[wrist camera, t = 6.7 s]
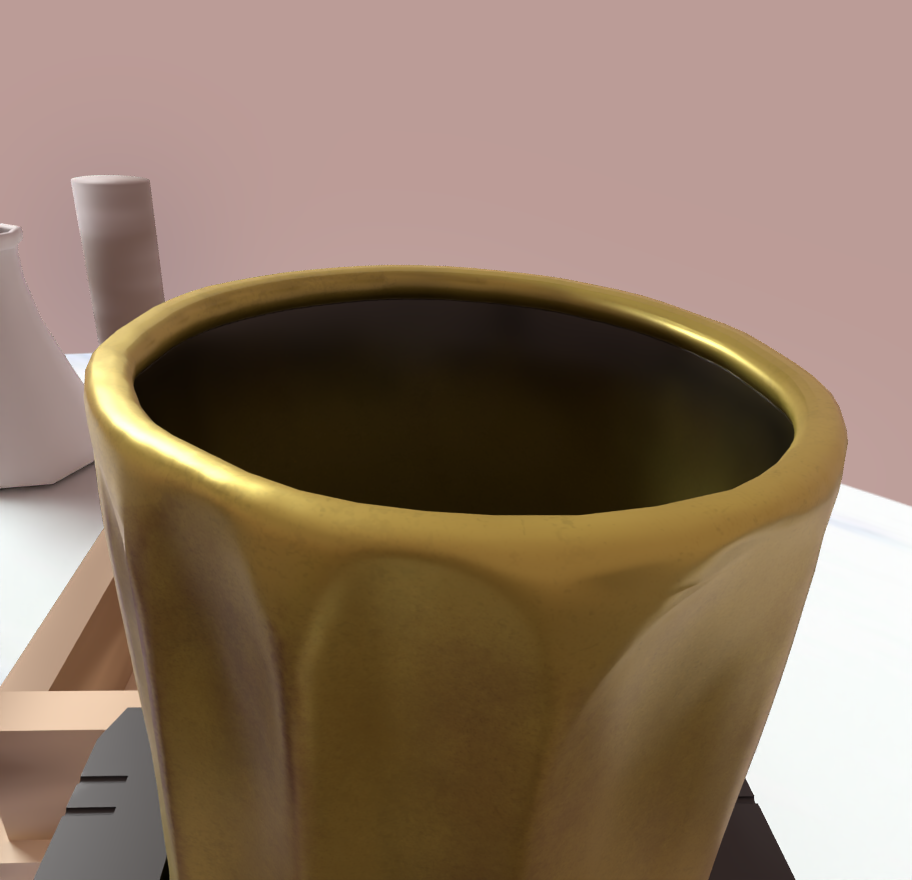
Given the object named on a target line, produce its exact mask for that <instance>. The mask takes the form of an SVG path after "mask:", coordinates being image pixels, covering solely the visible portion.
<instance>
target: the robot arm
mask: <svg viewBox="0 0 912 880" xmlns="http://www.w3.org/2000/svg"><path fill="white" fill-rule="evenodd" d="M33 880H170V875H169V866H168V859H167V853H166V846H165V840H164V833H163V827H162V820H161V812H160V804H159V796H158V789H157V783H156V777H155V771H154V765H153V759H152V753H151V748H150V743H149V739H148V734H147V729H146V725H145V720H144V716H143V711H142V707H128V708H127V709H126V710H125V711H124V712H123V713H122V714H121V715H120V716H119V717H118V718H117V719H116V720H115V721H114V722H113V723H112V724H111V725H110V726H109V727H108V728H107V729H106V731H105V732H104V733H103V734H102V735H101V736H100V737H99V738H98V739H97V741H96V743H95V745H94V747H93V750H92V752H91V754H90V756H89V758H88V761H87V763H86V765H85V767H84V769H83V772H82V774H81V776H80V783H79V784H77V785H76V787H75V789H74V791H73V793H72V796H71V798H70V800H69V802H68V804H67V807H66V813H65V816H62V818H61V820H60V822H59V824H58V826H57V829H56V831H55V833H54V835H53V837H52V840H51V842H50V844H49V846H48V848H47V850H46V853H45V855H44V857H43V859H42V861H41V864H40V866H39V868H38V870H37V872H36V875H35V877H34V879H33ZM708 880H795V878H794V876H793V874H792V872H791V870H790V868H789V866H788V864H787V862H786V860H785V858H784V856H783V853H782V851H781V849H780V847H779V845H778V843H777V841H776V839H775V837H774V835H773V833H772V831H771V829H770V827H769V825H768V823H767V821H766V819H765V817H764V815H763V813H762V811H761V809H760V807H759V805H758V804H755V801H754V795H753V793H752V791H751V789H750V787H749V785H748V783H747V781H746V779H745V780H744V782H743V785H742V787H741V790H740V793H739V795H738V798H737V800H736V803H735V806H734V808H733V811H732V814H731V816H730V819H729V822H728V825H727V827H726V830H725V833H724V836H723V838H722V841H721V844H720V847H719V850H718V853H717V856H716V858H715V861H714V864H713V867H712V870H711V873H710V876H709V879H708Z"/></svg>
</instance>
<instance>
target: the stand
mask: <svg viewBox="0 0 912 880" xmlns="http://www.w3.org/2000/svg"><path fill="white" fill-rule="evenodd" d="M71 184H72V190H73V195H74V202H75V207H76V213H77V219H78V225H79V230H80V237H81V243H82V248H83V254H84V260H85V266H86V271H87V277H88V283H89V289H90V294H91V301H92V307H93V313H94V318H95V324H96V330H97V336H98V342H99V346H100V345H101V344H102V343H103V342H104V341H106V340H107V339H108V338H109V337H110V336H111V335H112V334H114V333H115V332H116V331H117V330H119V329H120V328H122V327H123V326H125V325H126V324H128V323H129V322H131V321H133V320H134V319H136V318H137V317H139V316H140V315H142V314H144V313H145V312H147V311H148V310H150V309H152V308H153V307H155V306H157V305H159V304H162V303H164V302H165V300H164V293H163V284H162V276H161V268H160V260H159V252H158V244H157V236H156V228H155V220H154V212H153V204H152V195H151V187H150V181H149V179H145V178H141V177H133V176H117V175H96V176H83V177H76V178H73V179H71ZM128 707H141V703H140V698H139V694H138V689H137V685H136V680H135V676H134V671H133V666H132V662H131V657H130V652H129V647H128V643H127V638H126V633H125V629H124V624H123V619H122V614H121V610H120V605H119V600H118V595H117V591H116V586H115V581H114V576H113V571H112V566H111V561H110V556H109V551H108V546H107V542H106V537H105V531H104V529H103V530H102V532H101V533H100V535H99V536H98V538H97V539H96V541H95V542H94V544H93V546H92V547H91V549H90V550H89V552H88V553H87V555H86V556H85V558H84V559H83V561H82V562H81V564H80V565H79V567H78V569H77V570H76V572H75V573H74V575H73V576H72V578H71V579H70V581H69V582H68V584H67V585H66V587H65V588H64V590H63V592H62V593H61V595H60V596H59V598H58V599H57V601H56V602H55V604H54V605H53V607H52V608H51V610H50V611H49V613H48V614H47V616H46V618H45V619H44V621H43V622H42V624H41V625H40V627H39V628H38V630H37V631H36V633H35V634H34V636H33V637H32V639H31V641H30V642H29V644H28V645H27V647H26V648H25V650H24V651H23V653H22V654H21V656H20V657H19V659H18V660H17V662H16V664H15V665H14V667H13V668H12V670H11V671H10V673H9V674H8V676H7V677H6V679H5V680H4V682H3V683H2V685H1V687H0V880H33V879H34V877H35V875H36V872H37V870H38V868H39V866H40V864H41V861H42V859H43V857H44V855H45V853H46V850H47V848H48V846H49V844H50V842H51V840H52V837H53V835H54V833H55V831H56V829H57V826H58V824H59V822H60V820H61V818H62V816H65V813H66V807H67V804H68V802H69V800H70V798H71V796H72V793H73V791H74V789H75V787H76V785H77V784H79V783H80V776H81V774H82V772H83V769H84V767H85V765H86V763H87V761H88V758H89V756H90V754H91V752H92V750H93V747H94V745H95V743H96V741H97V739H98V738H99V737H100V736H101V735H102V734H103V733H104V732H105V731H106V729H107V728H108V727H109V726H110V725H111V724H112V723H113V722H114V721H115V720H116V719H117V718H118V717H119V716H120V715H121V714H122V713H123V712H124V711H125V710H126V709H127V708H128Z"/></svg>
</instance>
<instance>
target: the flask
mask: <svg viewBox="0 0 912 880" xmlns="http://www.w3.org/2000/svg"><path fill="white" fill-rule="evenodd" d="M22 238H23V231H22V227H20V226H14V225H7V224H2V223H0V488H10V487H22V486H34V485H46V484H54V483H55V482H57V481H59V480H61V479H63V478H64V477H66V476H68V475H70V474H72V473H73V472H75V471H77V470H79V469H81V468H82V467H84V466H86V465H88V464H90V463H91V462H93V461H94V451H93V448H92V443H91V438H90V434H89V429H88V424H87V418H86V412H85V405H84V384H83V382H82V381H81V379H80V378H79V376H78V375H77V374H76V372H75V371H74V369H73V368H72V366H71V364H70V363H69V361H68V360H67V358H66V356H65V355H64V353H63V352H62V350H61V348H60V347H59V345H58V344H57V342H56V340H55V339H54V337H53V336H52V334H51V333H50V331H49V329H48V328H47V326H46V325H45V323H44V321H43V320H42V318H41V316H40V314H39V311H38V309H37V307H36V304H35V302H34V300H33V297H32V295H31V293H30V290H29V288H28V286H27V283H26V281H25V278H24V275H23V271H22V266H21V262H20V257H19V253H18V244H19V243H20V242H21V240H22Z"/></svg>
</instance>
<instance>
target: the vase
mask: <svg viewBox="0 0 912 880" xmlns="http://www.w3.org/2000/svg"><path fill="white" fill-rule="evenodd" d="M84 405H85V412H86V418H87V424H88V429H89V434H90V438H91V443H92V448H93V451H94V461H95V469H96V476H97V484H98V492H99V499H100V506H101V512H102V518H103V525H104V531H105V537H106V542H107V546H108V551H109V556H110V561H111V566H112V571H113V576H114V581H115V586H116V591H117V595H118V600H119V605H120V610H121V614H122V619H123V624H124V629H125V633H126V638H127V643H128V647H129V652H130V657H131V662H132V666H133V671H134V676H135V680H136V685H137V689H138V694H139V698H140V703H141V707H142V711H143V716H144V720H145V725H146V729H147V734H148V739H149V743H150V748H151V753H152V759H153V765H154V771H155V777H156V783H157V789H158V796H159V804H160V812H161V820H162V827H163V833H164V840H165V846H166V853H167V859H168V866H169V875H170V880H708V879H709V876H710V873H711V870H712V867H713V864H714V861H715V858H716V856H717V853H718V850H719V847H720V844H721V841H722V838H723V836H724V833H725V830H726V827H727V825H728V822H729V819H730V816H731V814H732V811H733V808H734V806H735V803H736V800H737V798H738V795H739V793H740V790H741V787H742V785H743V782H744V780H745V777H746V774H747V772H748V769H749V767H750V764H751V761H752V759H753V756H754V754H755V751H756V748H757V746H758V743H759V740H760V737H761V735H762V732H763V729H764V726H765V724H766V721H767V718H768V715H769V713H770V710H771V707H772V704H773V701H774V698H775V695H776V692H777V689H778V686H779V684H780V681H781V678H782V675H783V671H784V668H785V665H786V662H787V659H788V656H789V653H790V650H791V647H792V644H793V641H794V637H795V634H796V631H797V627H798V624H799V621H800V617H801V614H802V611H803V607H804V604H805V601H806V598H807V594H808V591H809V588H810V585H811V582H812V578H813V575H814V572H815V568H816V564H817V560H818V556H819V552H820V548H821V544H822V540H823V536H824V533H825V530H826V527H827V524H828V521H829V518H830V515H831V513H832V510H833V507H834V504H835V501H836V498H837V495H838V492H839V488H840V484H841V480H842V474H843V468H844V467H843V466H844V461H845V456H846V450H847V445H848V439H847V430H846V426H845V423H844V420H843V417H842V414H841V410H840V407H839V405H838V404H837V402H836V401H835V399H834V397H833V395H832V394H831V393H830V392H829V391H828V390H827V389H826V388H825V387H824V386H823V385H822V384H821V383H820V382H819V381H818V380H817V379H816V378H815V377H813V376H812V375H811V374H810V373H808V372H807V371H805V370H804V369H803V368H801V367H800V366H798V365H797V364H796V363H794V362H793V361H791V360H789V359H788V358H786V357H785V356H783V355H782V354H780V353H778V352H777V351H775V350H774V349H772V348H770V347H769V346H767V345H765V344H764V343H762V342H761V341H759V340H757V339H755V338H754V337H752V336H750V335H748V334H747V333H745V332H742V331H740V330H738V329H735V328H733V327H731V326H728V325H726V324H724V323H721V322H718V321H715V320H712V319H709V318H706V317H703V316H701V315H698V314H695V313H692V312H690V311H687V310H684V309H681V308H678V307H676V306H673V305H670V304H667V303H664V302H662V301H658V300H655V299H652V298H648V297H645V296H642V295H638V294H633V293H629V292H626V291H621V290H617V289H612V288H607V287H602V286H598V285H593V284H588V283H583V282H578V281H573V280H568V279H562V278H555V277H549V276H542V275H533V274H526V273H516V272H506V271H497V270H487V269H476V268H464V267H449V266H423V265H378V266H377V265H376V266H356V267H355V266H354V267H338V268H326V269H315V270H304V271H295V272H286V273H278V274H272V275H265V276H259V277H253V278H248V279H242V280H237V281H232V282H227V283H222V284H217V285H212V286H208V287H205V288H201V289H198V290H195V291H192V292H189V293H186V294H184V295H181V296H178V297H176V298H173V299H171V300H168V301H166V302H164V303H162V304H159V305H157V306H155V307H153V308H152V309H150V310H148V311H147V312H145V313H144V314H142V315H140V316H139V317H137V318H136V319H134V320H133V321H131V322H129V323H128V324H126V325H125V326H123V327H122V328H120V329H119V330H117V331H116V332H115V333H114V334H112V335H111V336H110V337H109V338H108V339H107V340H106V341H104V342H103V343H102V344H101V345H100V346H99V347H98V348H97V349H96V350H95V351H94V352H93V354H92V356H91V358H90V361H89V363H88V365H87V367H86V370H85V383H84Z"/></svg>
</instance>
